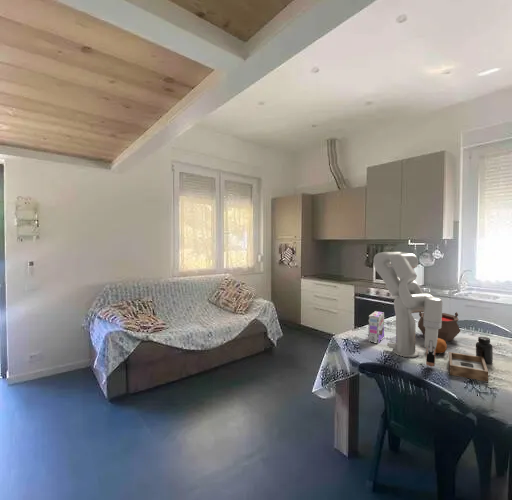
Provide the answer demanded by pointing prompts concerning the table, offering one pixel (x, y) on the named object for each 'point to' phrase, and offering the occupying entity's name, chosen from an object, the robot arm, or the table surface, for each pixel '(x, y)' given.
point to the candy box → (376, 326)
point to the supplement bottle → (484, 349)
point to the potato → (440, 346)
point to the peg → (430, 362)
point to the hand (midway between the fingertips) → (430, 360)
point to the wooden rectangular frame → (468, 366)
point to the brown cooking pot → (444, 326)
